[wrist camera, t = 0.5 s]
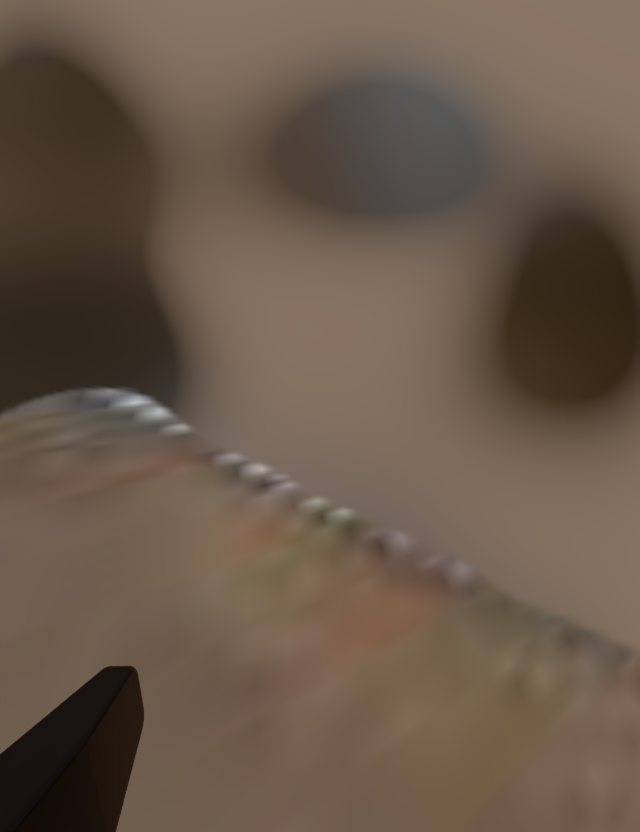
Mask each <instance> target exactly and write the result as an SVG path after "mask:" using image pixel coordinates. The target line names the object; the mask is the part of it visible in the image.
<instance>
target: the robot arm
mask: <svg viewBox="0 0 640 832" xmlns="http://www.w3.org/2000/svg"><path fill="white" fill-rule="evenodd" d="M143 722H144V708H143V702H142V696H141V689H140V683H139V677H138V673H137V670H136V669H135V668H134V667H133V666H109V667H106V668H104V669H103V670H101V671H100V672H99V673H97V674H96V675H95V676H94V677H93V678H91V679H90V680H89V681H88V682H87V683H85V684H84V685H83V686H82V687H81V688H79V689H78V690H77V691H76V692H75V693H73V694H72V695H71V696H70V697H69V698H67V699H66V700H65V701H64V702H63V703H61V704H60V705H59V706H58V707H57V708H55V709H54V710H53V711H52V712H50V713H49V714H48V715H47V716H46V717H44V718H43V719H42V720H41V721H40V722H38V723H37V724H36V725H35V726H34V727H32V728H31V729H30V730H29V731H28V732H26V733H25V734H24V735H23V736H22V737H20V738H19V739H18V740H17V741H16V742H14V743H13V744H12V745H11V746H10V747H8V748H7V749H6V750H5V751H4V752H2V753H1V754H0V832H116V829H117V825H118V821H119V817H120V813H121V810H122V806H123V802H124V798H125V794H126V790H127V786H128V783H129V779H130V775H131V771H132V767H133V763H134V759H135V755H136V752H137V748H138V744H139V740H140V736H141V732H142V728H143Z"/></svg>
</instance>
